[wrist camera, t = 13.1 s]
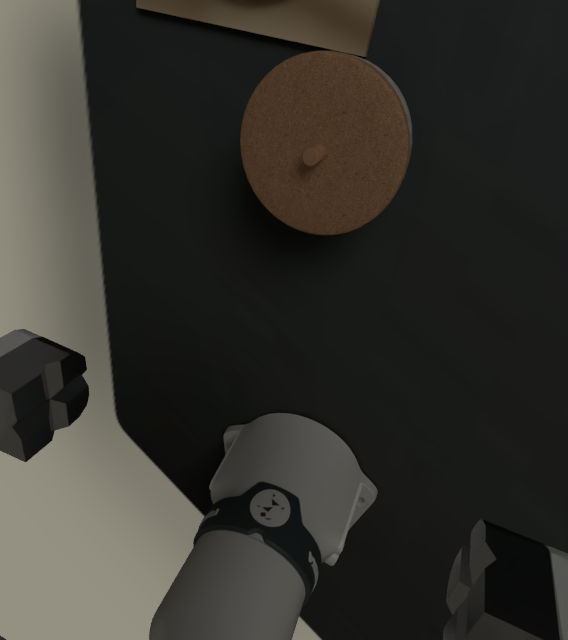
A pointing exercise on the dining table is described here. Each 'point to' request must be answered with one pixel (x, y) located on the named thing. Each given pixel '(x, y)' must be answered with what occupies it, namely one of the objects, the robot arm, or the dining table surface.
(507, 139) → the dining table surface
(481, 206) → the dining table surface
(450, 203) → the dining table surface
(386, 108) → the lidded jar
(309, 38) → the plate
